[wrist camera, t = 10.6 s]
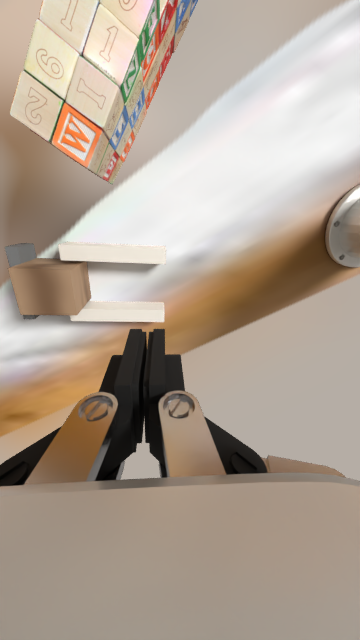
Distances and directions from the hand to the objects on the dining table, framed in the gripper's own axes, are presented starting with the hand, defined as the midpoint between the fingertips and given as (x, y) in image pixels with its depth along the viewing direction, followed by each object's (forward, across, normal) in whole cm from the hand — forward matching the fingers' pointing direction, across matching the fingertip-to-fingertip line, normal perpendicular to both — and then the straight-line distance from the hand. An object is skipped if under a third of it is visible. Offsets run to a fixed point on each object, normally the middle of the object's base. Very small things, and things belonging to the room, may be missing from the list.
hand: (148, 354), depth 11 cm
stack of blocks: (+26, +3, -20) cm, 33 cm away
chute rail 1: (+25, +6, -1) cm, 26 cm away
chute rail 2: (+25, +6, +8) cm, 27 cm away
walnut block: (+25, +14, +3) cm, 29 cm away
